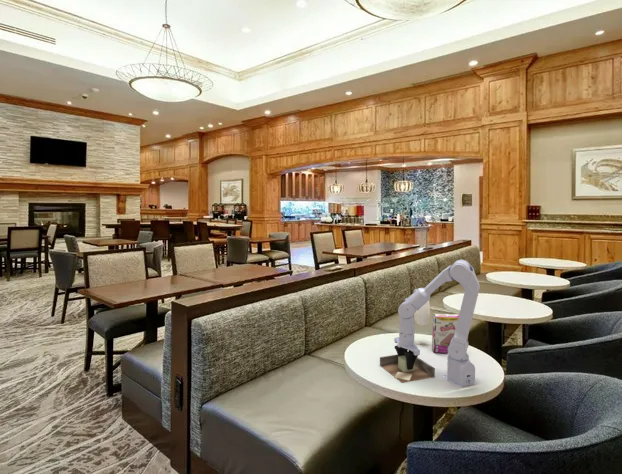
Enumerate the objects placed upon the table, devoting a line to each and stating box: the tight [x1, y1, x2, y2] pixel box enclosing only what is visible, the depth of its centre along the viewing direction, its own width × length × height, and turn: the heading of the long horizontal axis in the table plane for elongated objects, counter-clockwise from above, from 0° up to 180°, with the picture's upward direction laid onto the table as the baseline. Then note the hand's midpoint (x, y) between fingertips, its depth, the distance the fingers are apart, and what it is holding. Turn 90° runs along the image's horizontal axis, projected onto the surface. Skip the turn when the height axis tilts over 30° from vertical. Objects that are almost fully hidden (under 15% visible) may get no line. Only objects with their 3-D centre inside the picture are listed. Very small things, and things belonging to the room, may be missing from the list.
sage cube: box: [398, 356, 415, 372], centre depth 148 cm, size 4×4×4 cm
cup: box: [414, 300, 431, 327], centre depth 174 cm, size 7×7×21 cm
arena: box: [379, 354, 436, 384], centre depth 146 cm, size 16×14×4 cm
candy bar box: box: [431, 313, 459, 354], centre depth 166 cm, size 11×5×16 cm, turn 84°
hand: (406, 366), depth 148 cm, fingers closed on sage cube, 4 cm apart
